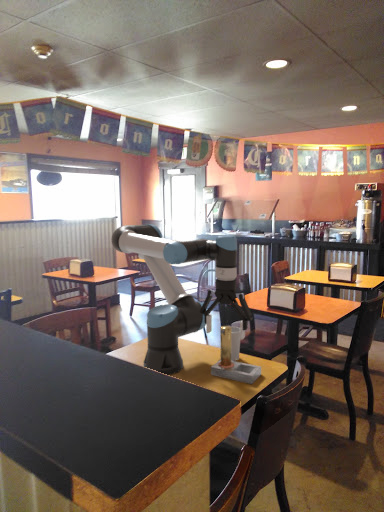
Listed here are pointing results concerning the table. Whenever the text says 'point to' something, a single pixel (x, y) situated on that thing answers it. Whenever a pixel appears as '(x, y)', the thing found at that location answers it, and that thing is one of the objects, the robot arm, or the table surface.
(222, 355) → the brass cylinder with tabs
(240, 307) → the robot arm
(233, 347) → the cup
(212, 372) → the plate with copper dome
